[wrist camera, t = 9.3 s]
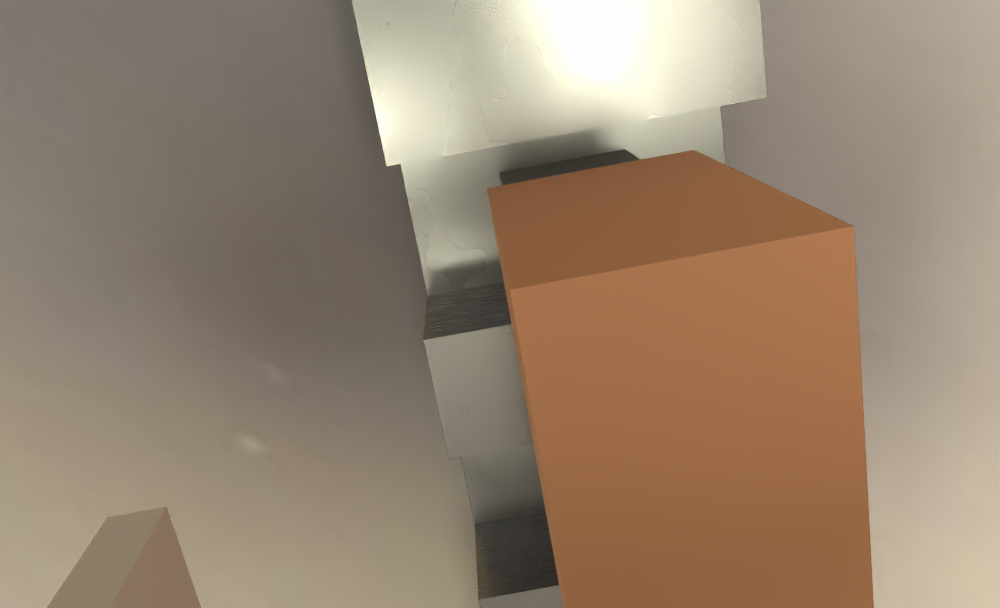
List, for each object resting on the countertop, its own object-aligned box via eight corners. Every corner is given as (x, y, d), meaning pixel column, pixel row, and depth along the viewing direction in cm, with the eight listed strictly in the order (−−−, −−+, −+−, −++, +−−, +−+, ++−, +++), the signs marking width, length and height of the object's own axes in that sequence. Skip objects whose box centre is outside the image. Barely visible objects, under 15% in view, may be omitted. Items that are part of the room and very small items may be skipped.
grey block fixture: (343, -119, 17) (318, -156, 14) (686, -181, 17) (742, -232, 14) (509, 682, 23) (518, 790, 20) (763, 636, 23) (815, 736, 20)
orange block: (478, 152, 19) (509, 290, 9) (638, 123, 19) (853, 226, 9) (544, 513, 21) (627, 935, 11) (684, 487, 21) (887, 886, 11)
